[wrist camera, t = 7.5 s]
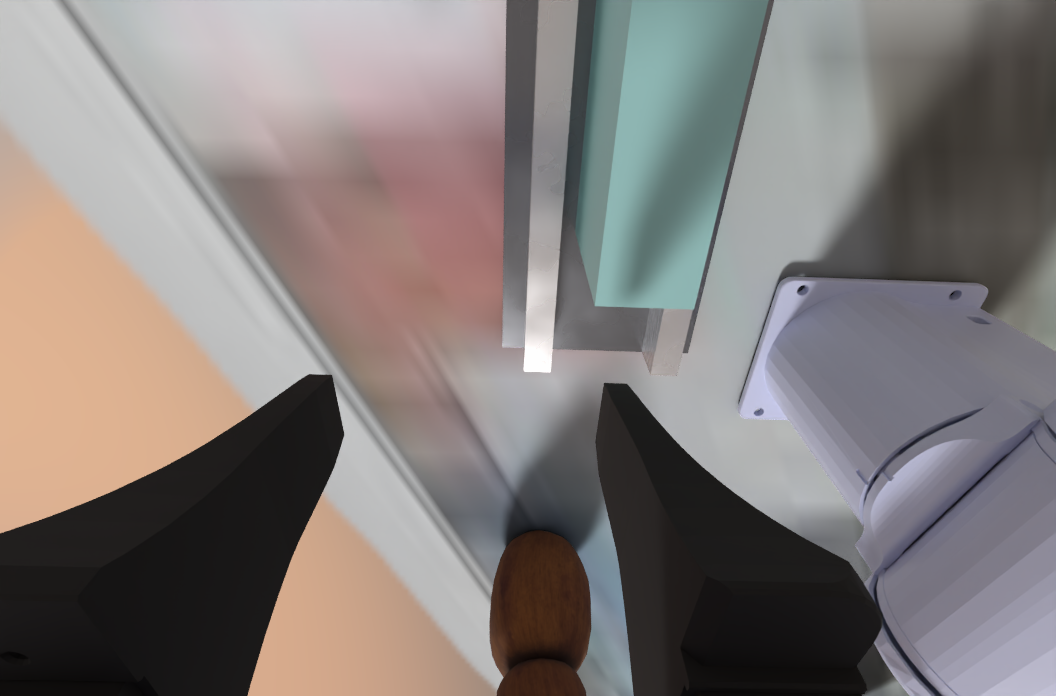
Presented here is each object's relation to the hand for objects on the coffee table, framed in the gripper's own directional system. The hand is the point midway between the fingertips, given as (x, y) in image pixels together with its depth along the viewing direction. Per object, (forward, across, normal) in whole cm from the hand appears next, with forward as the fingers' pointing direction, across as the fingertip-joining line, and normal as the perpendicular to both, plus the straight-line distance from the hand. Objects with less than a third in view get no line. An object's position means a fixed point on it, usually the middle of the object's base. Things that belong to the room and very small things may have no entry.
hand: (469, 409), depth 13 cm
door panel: (+10, -5, -6) cm, 13 cm away
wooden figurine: (+11, -3, +20) cm, 23 cm away
